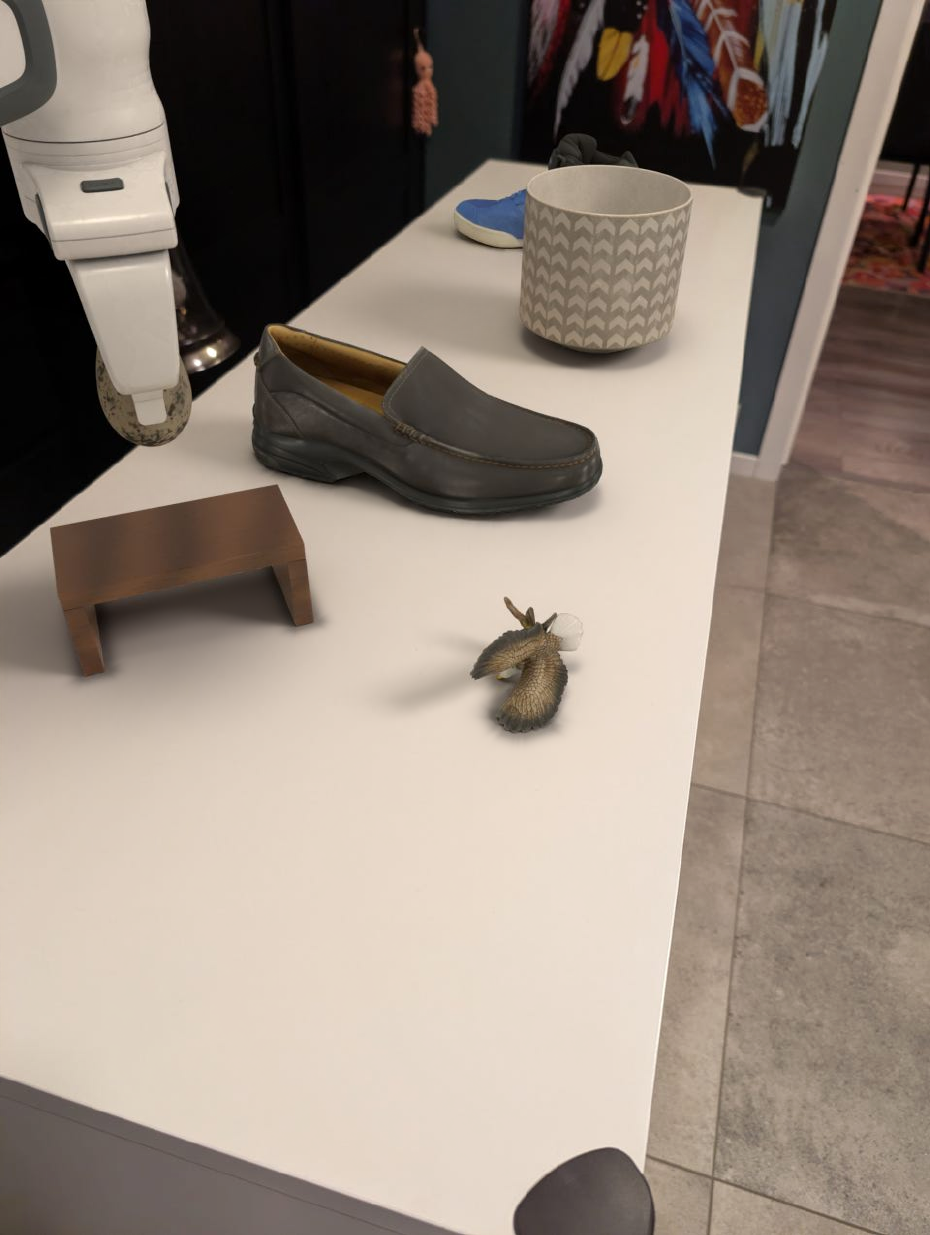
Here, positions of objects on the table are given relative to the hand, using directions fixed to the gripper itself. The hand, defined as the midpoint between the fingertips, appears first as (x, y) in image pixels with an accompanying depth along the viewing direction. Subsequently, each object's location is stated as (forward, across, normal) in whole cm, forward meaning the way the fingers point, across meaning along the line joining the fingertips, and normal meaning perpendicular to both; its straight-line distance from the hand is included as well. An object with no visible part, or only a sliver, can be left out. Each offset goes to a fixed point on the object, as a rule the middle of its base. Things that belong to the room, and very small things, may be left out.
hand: (145, 394), depth 65 cm
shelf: (+21, -2, 0) cm, 21 cm away
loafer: (+21, -16, +25) cm, 36 cm away
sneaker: (+21, -72, +64) cm, 99 cm away
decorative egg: (+4, 0, 0) cm, 4 cm away
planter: (+21, -38, +56) cm, 71 cm away
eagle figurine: (+21, +16, +22) cm, 34 cm away
